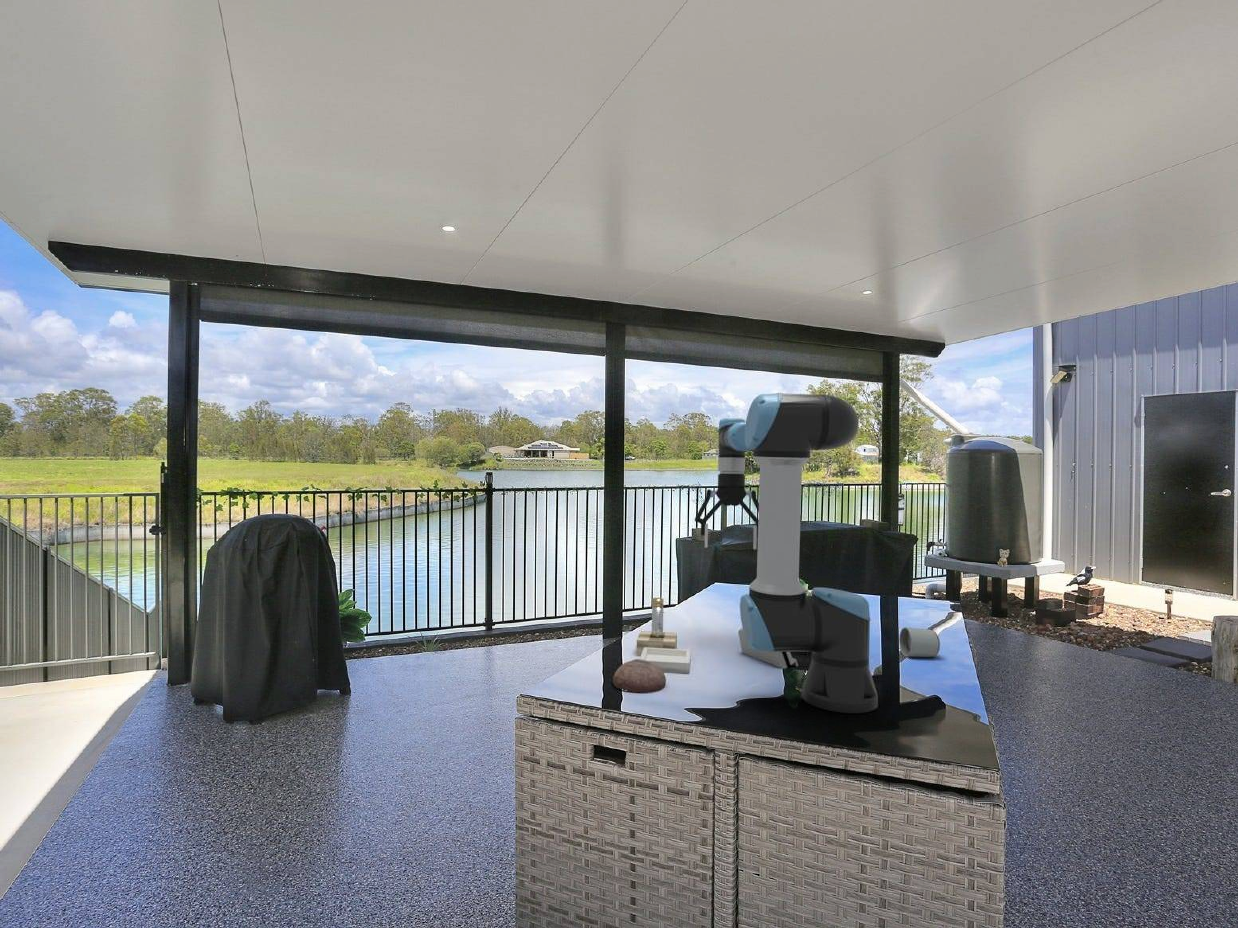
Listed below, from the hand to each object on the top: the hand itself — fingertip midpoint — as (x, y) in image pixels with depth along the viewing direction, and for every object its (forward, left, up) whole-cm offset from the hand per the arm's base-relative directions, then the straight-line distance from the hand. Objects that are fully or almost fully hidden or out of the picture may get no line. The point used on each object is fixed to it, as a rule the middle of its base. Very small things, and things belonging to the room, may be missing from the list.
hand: (730, 548), depth 185 cm
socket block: (-13, +19, -27) cm, 35 cm away
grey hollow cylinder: (-2, -50, -27) cm, 57 cm away
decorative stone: (-41, +22, -27) cm, 53 cm away
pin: (-13, +19, -27) cm, 35 cm away
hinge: (-15, -9, -27) cm, 32 cm away
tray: (-25, +16, -27) cm, 40 cm away
